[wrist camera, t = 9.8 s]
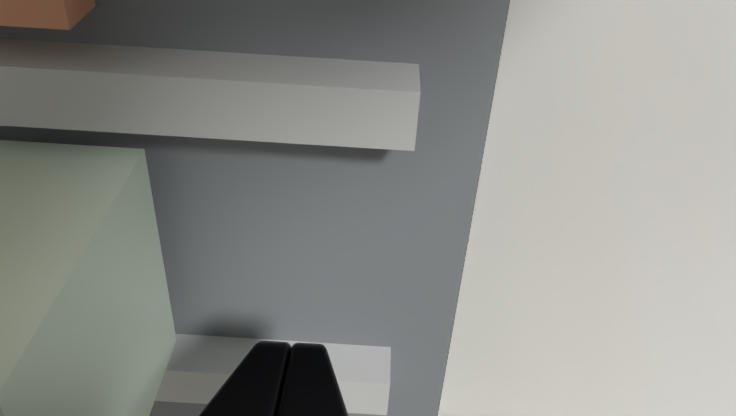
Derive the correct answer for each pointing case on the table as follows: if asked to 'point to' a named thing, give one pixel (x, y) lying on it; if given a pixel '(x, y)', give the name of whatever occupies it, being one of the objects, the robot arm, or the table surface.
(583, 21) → the table surface
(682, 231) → the table surface
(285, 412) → the robot arm
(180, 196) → the grey slider track board
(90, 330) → the sage slider
